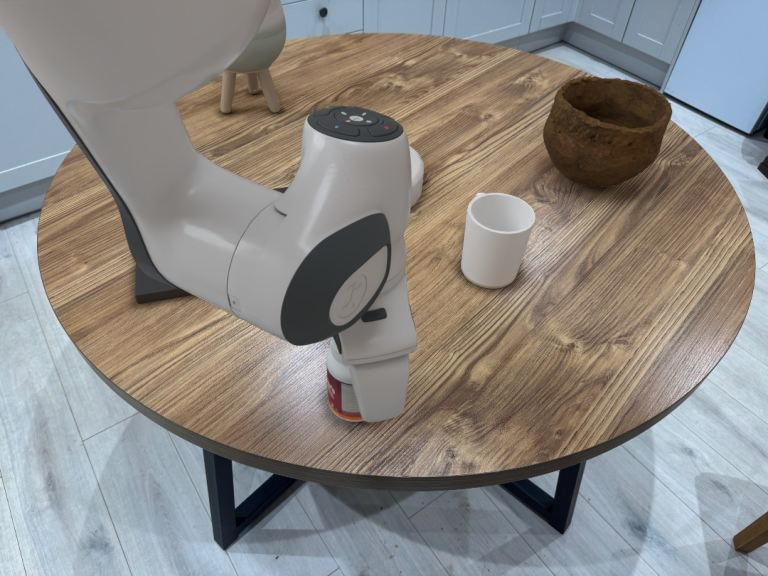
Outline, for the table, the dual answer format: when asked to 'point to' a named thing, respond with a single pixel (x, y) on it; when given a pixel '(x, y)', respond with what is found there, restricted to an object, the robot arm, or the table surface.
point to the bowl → (605, 130)
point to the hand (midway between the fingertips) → (356, 369)
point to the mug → (495, 238)
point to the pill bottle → (340, 387)
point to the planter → (258, 60)
